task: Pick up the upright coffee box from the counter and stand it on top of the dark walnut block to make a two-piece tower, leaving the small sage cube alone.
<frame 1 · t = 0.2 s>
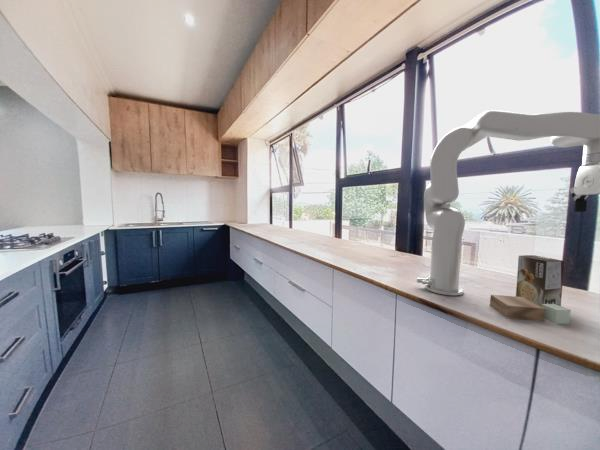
hand: (594, 211, 81), 31 cm above the worktop, tool pointing down, fingers open, 9 cm apart
base block: (514, 313, 73), on the worktop
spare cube: (554, 320, 69), on the worktop
coffee box: (536, 307, 78), on the worktop
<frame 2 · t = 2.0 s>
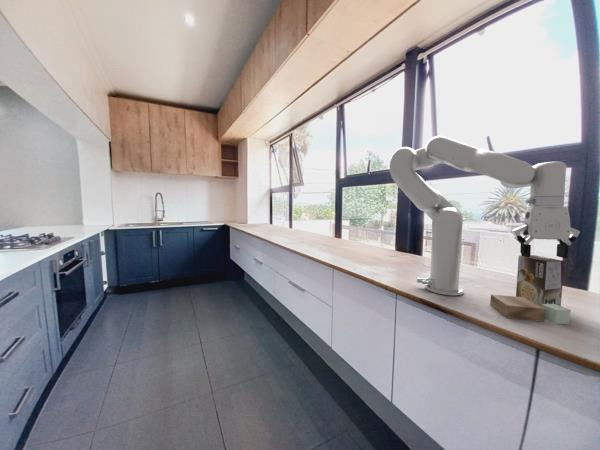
hand: (543, 256, 76), 16 cm above the worktop, tool pointing down, fingers open, 9 cm apart
nothing on the worktop moved.
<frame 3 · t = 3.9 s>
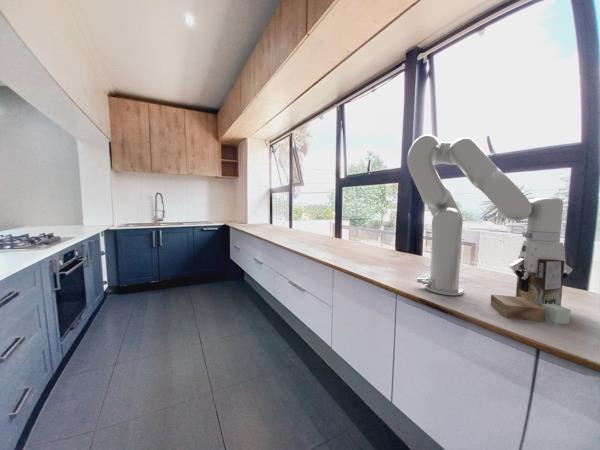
hand: (538, 291, 78), 5 cm above the worktop, tool pointing down, fingers closed on coffee box, 7 cm apart
coffee box: (536, 307, 78), on the worktop, touching gripper
everything else where it was.
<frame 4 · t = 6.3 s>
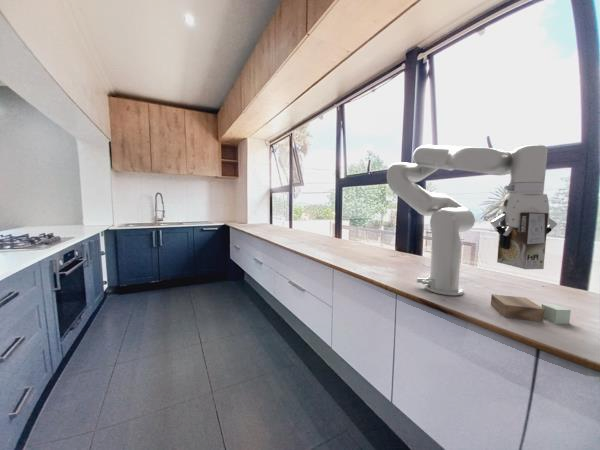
hand: (520, 248, 72), 20 cm above the worktop, tool pointing down, fingers closed on coffee box, 7 cm apart
coffee box: (518, 266, 73), point 14 cm above the worktop, touching gripper
everything else where it was.
when the fingers open (11 cm above the worktop, at t = 9.0 s): coffee box drops 2 cm, resting on base block.
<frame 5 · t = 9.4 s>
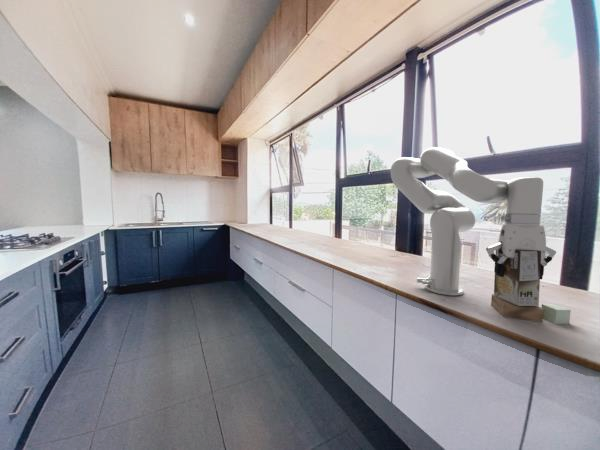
hand: (517, 276, 72), 11 cm above the worktop, tool pointing down, fingers open, 9 cm apart
base block: (514, 314, 73), on the worktop, touching coffee box
coffee box: (514, 301, 73), point 3 cm above the worktop, touching base block
everything else where it was.
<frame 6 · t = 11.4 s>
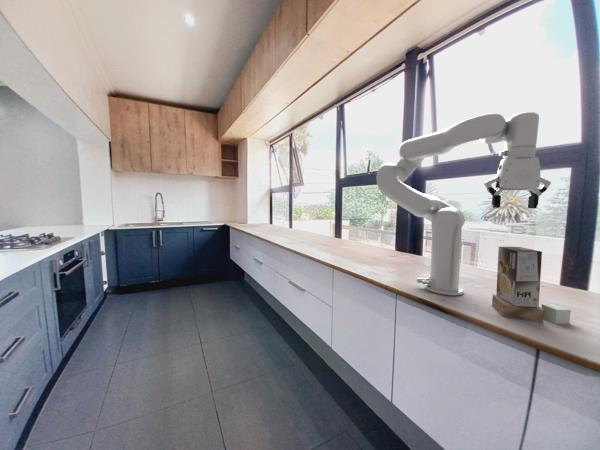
hand: (513, 207, 79), 32 cm above the worktop, tool pointing down, fingers open, 9 cm apart
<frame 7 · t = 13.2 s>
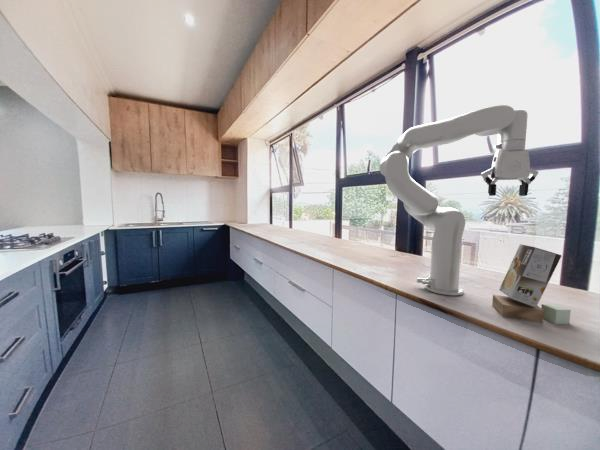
hand: (507, 195, 88), 36 cm above the worktop, tool pointing down, fingers open, 9 cm apart
at the end: coffee box inside the target area on the base block (0.4 cm from its centre), point 4.3 cm above the base block's base; coffee box tilted 6°; the gripper is holding nothing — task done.
